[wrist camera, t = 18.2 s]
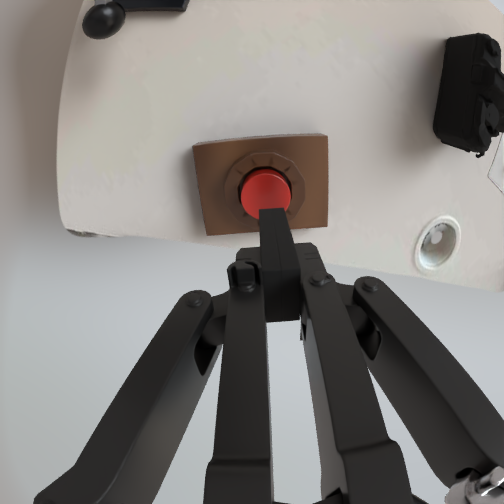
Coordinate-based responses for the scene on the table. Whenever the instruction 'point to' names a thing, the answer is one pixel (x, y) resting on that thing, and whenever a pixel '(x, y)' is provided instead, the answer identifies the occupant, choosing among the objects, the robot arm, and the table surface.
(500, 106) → the film camera
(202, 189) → the brown button base
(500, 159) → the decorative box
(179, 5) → the black lever stand
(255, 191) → the button
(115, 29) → the switch lever
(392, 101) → the table surface
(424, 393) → the robot arm
